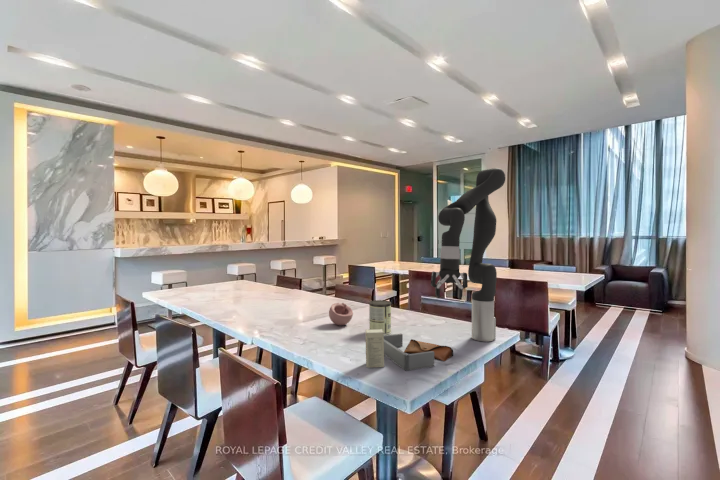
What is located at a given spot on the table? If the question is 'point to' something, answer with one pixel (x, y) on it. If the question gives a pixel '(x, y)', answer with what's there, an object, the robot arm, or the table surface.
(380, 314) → the coffee can
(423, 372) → the table surface
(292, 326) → the table surface
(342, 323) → the mortar and pestle
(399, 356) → the gray u-shaped bracket
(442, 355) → the sunglasses case
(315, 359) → the table surface
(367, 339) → the skincare box
